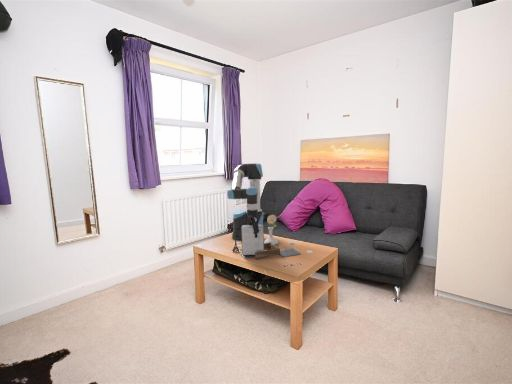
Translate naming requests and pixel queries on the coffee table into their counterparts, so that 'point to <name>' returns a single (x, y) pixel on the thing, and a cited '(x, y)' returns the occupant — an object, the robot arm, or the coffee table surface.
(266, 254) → the walnut shelf bay
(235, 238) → the eiffel tower figurine
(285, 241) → the coffee table surface
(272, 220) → the flower in vase
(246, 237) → the hard drive box
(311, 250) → the coffee table surface
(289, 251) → the felt pad
